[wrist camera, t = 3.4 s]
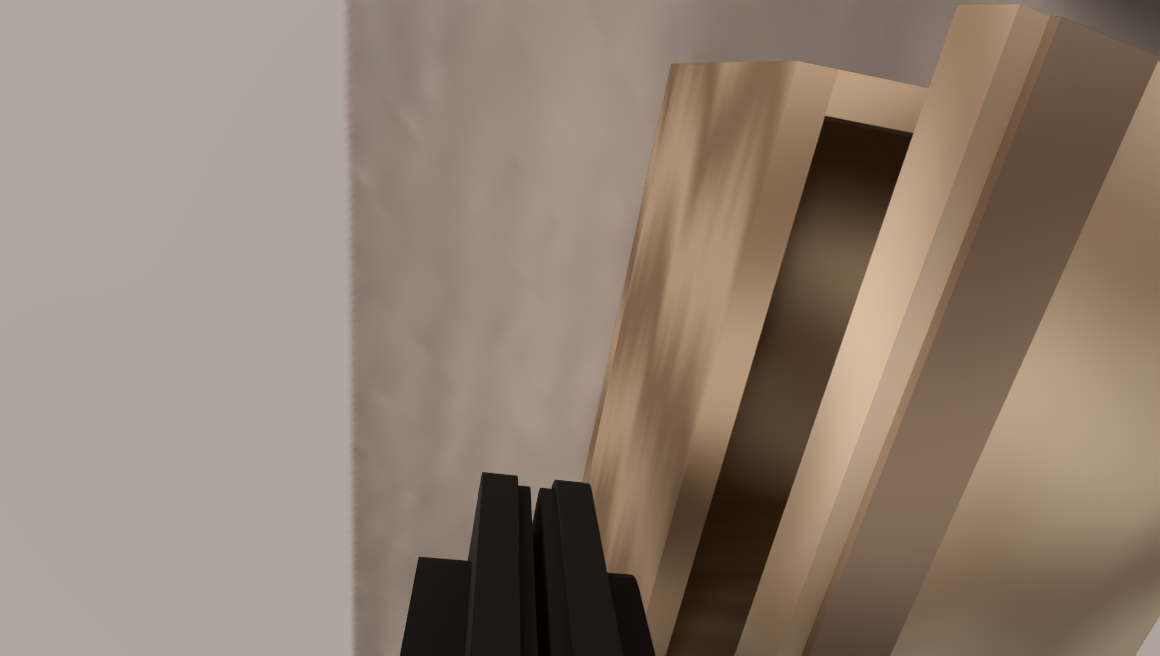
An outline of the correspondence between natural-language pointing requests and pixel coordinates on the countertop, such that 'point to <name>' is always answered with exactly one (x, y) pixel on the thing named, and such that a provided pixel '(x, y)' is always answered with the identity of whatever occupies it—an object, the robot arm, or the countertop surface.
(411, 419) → the countertop surface
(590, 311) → the countertop surface
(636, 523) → the light brown boxy piece
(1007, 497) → the lid flap
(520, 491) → the robot arm
